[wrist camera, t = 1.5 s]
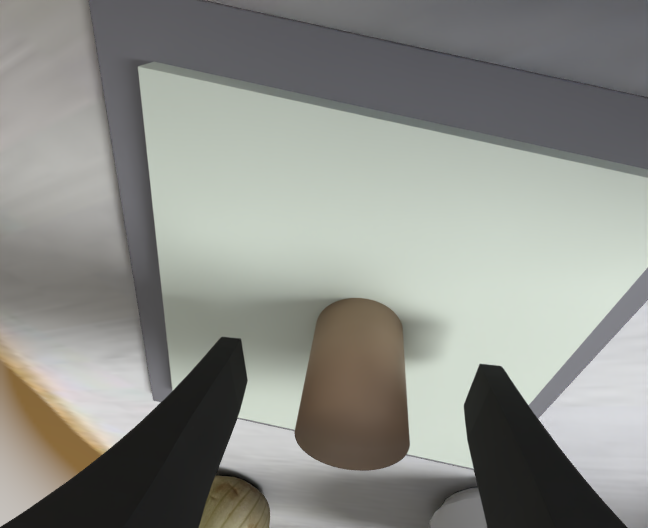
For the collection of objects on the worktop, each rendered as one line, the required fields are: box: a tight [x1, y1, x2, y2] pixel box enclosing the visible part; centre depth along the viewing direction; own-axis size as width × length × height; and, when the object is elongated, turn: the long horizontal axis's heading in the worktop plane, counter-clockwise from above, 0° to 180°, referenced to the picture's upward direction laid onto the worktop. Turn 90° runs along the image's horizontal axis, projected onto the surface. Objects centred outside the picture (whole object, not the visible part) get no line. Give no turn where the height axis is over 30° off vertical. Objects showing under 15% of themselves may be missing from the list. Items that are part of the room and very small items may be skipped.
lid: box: [138, 62, 648, 470], centre depth 12 cm, size 14×14×5 cm
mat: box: [89, 0, 648, 470], centre depth 14 cm, size 17×17×1 cm
